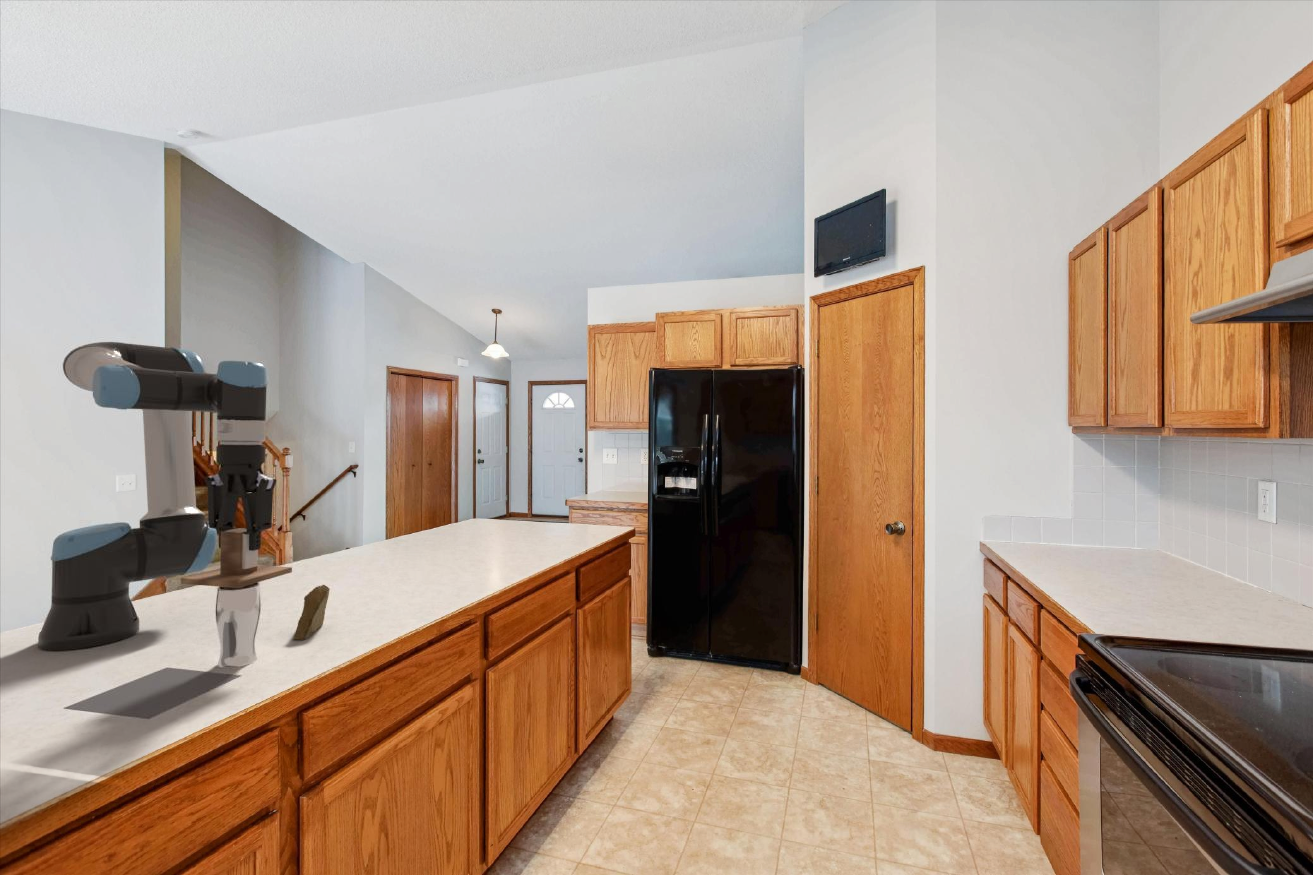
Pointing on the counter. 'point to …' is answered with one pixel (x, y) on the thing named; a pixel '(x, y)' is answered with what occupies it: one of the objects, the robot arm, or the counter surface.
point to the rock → (312, 612)
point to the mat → (154, 693)
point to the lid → (234, 566)
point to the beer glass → (237, 624)
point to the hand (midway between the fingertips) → (239, 566)
